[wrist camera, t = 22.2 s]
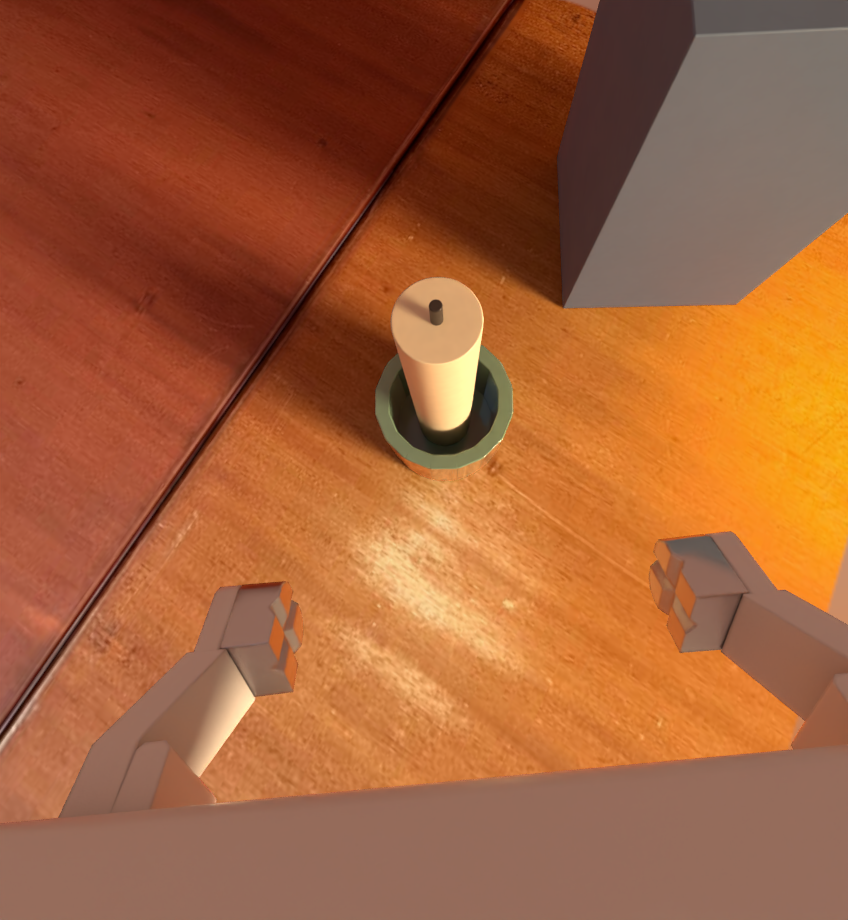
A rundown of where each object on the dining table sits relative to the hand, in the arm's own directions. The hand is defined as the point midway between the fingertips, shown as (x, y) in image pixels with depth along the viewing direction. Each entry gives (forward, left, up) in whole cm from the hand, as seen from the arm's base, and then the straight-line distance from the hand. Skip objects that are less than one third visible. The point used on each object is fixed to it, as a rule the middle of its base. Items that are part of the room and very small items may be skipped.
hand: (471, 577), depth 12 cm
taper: (+1, -7, -17) cm, 18 cm away
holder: (+1, -7, -18) cm, 19 cm away
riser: (-11, -19, -18) cm, 28 cm away
